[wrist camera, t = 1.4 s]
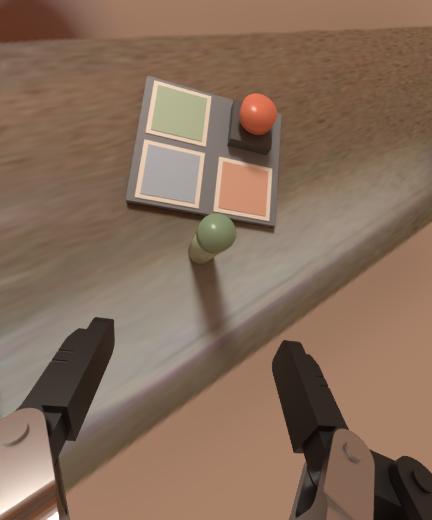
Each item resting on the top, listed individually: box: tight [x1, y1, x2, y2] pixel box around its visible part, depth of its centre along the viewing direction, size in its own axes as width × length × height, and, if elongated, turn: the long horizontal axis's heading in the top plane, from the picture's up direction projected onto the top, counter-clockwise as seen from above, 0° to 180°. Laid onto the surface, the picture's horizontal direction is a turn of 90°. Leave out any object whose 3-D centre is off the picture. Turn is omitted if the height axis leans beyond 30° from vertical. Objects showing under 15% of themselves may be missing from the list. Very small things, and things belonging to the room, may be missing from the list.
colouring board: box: [126, 76, 281, 227], centre depth 30 cm, size 20×18×2 cm
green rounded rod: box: [188, 213, 236, 264], centre depth 25 cm, size 3×3×10 cm
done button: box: [239, 94, 277, 135], centre depth 30 cm, size 5×5×3 cm
